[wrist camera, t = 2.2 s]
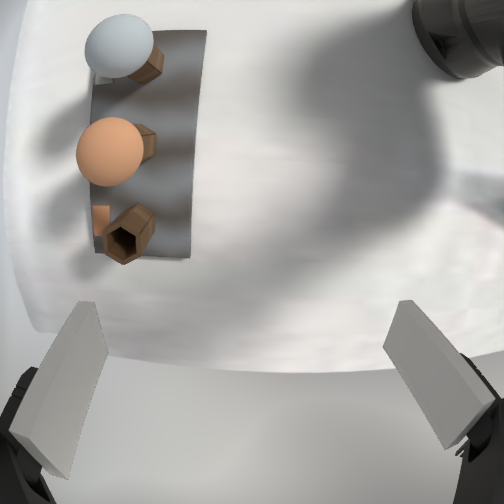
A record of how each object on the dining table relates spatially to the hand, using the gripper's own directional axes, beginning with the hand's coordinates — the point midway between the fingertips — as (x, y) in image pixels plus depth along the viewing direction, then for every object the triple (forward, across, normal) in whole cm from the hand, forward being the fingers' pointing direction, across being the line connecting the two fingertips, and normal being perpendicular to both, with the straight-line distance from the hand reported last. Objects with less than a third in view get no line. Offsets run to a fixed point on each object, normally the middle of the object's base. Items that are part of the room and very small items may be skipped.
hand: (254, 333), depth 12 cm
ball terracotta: (+18, -11, +6) cm, 22 cm away
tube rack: (+26, -11, +6) cm, 29 cm away
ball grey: (+18, -11, +16) cm, 26 cm away
